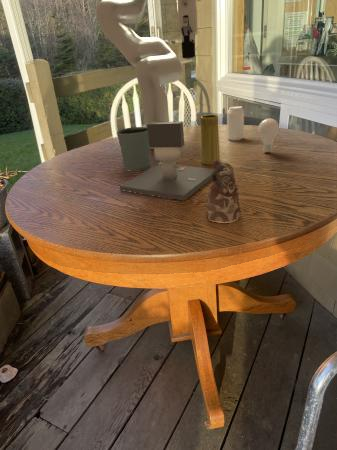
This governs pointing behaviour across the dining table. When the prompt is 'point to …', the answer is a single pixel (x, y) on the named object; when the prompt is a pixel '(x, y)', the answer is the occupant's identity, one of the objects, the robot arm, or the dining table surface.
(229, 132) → the beverage can
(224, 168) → the figurine
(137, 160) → the grey-green cup
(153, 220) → the dining table surface
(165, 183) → the post base
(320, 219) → the dining table surface
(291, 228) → the dining table surface
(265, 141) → the lightbulb
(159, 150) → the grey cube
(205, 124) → the vase
